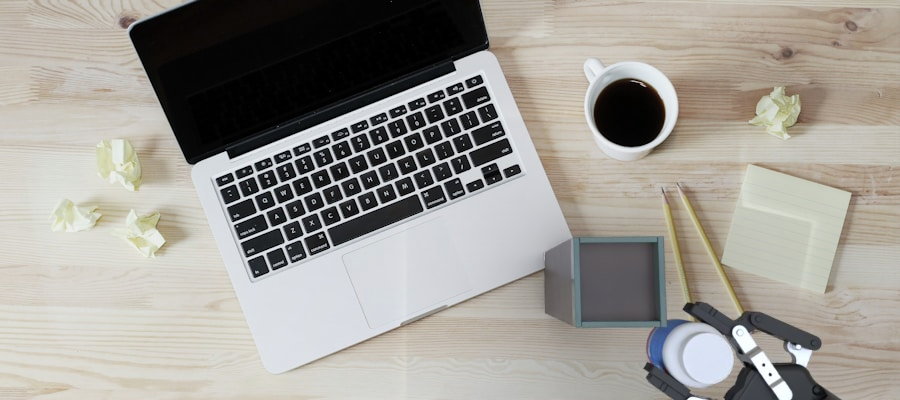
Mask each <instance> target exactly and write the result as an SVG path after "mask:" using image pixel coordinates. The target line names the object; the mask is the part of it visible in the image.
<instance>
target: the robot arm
mask: <svg viewBox="0 0 900 400" xmlns="http://www.w3.org/2000/svg"><path fill="white" fill-rule="evenodd" d="M682 311H684V312H685V313H686V314H688V315H689V316H691V317H692V318H693V319H696V320H697V322H701V323H705V324H708V325H710V326H712V327H714V328H715V329H717V330H718V331H719V332H720V333H721V334H722V335H723V336H724V338H725V339H726V341H727V342H728V344H729V345H730V347H731V348H732V350H734V352H735V355H736V357H737V359H738V360H739V361H740V363H741V365H742V368H741V370H739V373H738V374H737V377H736V380H735V383H734V384H733V385H732V386H731V387H730V388H728V389H727V391H726V392H725V394H724V395H723V397H722V398H723V399H724V400H843V399H842V398H840V397H839V396H837V395H836V394H834V393H833V392H831V391H830V390H828V389H827V388H825V387H824V386H823V385H821V384H819V382H817V381H816V380H815V379H814V378H813V375H812V374H811V372H810V371H809V369H808V365H809V362H810V360H811V358H812V354H813V352H814V351H819V350H820V349H821V348H822V339H821V338H820V337H819V336H817V335H815V334H812V333H811V332H808V331H806V330H803V329H801V328H798V327H796V326H794V325H792V324H790V323H787V322H785V321H782V320H780V319H778V318H776V317H773V316H771V315H768V314H766V313H763V312H761V311H755V310H745V311H743V312H742V313H741V315H739V317H737V318H735V319H732V318H730V317H729V316H727V315H726V314H724V313H723V312H721V311H720V310H718V309H717V308H715V307H714V306H713V305H711V304H710V303H708V302H704V301H695V302H694V303H693V302H692V301H691V302H689V301H688V302H686V303H685V304H684V306H683V308H682ZM755 330H756V331H759V332H762V333H764V334H766V335H768V336H771V337H772V338H775V339H778V340H780V341H782V342H783V343H782V348H783V350H784V351H785V352H786V353H788V354H789V355H790V357H791V362H790V361H789V362H771V360H770V359H769V357H768V356H767V354H766V353H765V351H764V350H763V349H762V348H761V347H760V346H759V345H758V344H757V343H756V341H755V340H754V339H753V337H752V335H751V333H752V332H754V331H755ZM642 369H643V370H644V371H646V372H647V374H646V376H645V379H646V380H647V382H648V383H649V385H652V386H653V387H655V388H656V389H657V390H658V391H660V392H662V393H663V394H664V395H666V396H668V397H669V398H670V399H672V400H720V399H719V398H713V397H709V396H703V395H699V394H693V393H691V390H692V389H690V388H689V387H687V386H684V385H682V384H681V383H679V382H678V381H677V380H675V379H674V378H672V377H671V376H669V375H668V374H666V373H665V372H663V371H662V370H661V369H659V368H658V367H656V366H655V365H653V364H651V363H650V362H649V361H646V363H645V364H644V366H643V367H642Z"/></svg>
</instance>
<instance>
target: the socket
mask: <svg viewBox="0 0 900 400" xmlns="http://www.w3.org/2000/svg"><path fill="white" fill-rule="evenodd" d="M570 239H571V280H572V322H573V326H572V327H573V328H575V329H578V328H579V329H580V328H582V329H584V328H585V329H588V328H590V329H592V328H593V329H597V328H599V329H601V328H608V329H609V328H610V329H611V328H613V329H614V328H621V329H622V328H635V329H637V328H654V327H667V320H668V312H667V311H668V310H667V285H666V283H667V282H666V260H665V237H664V235H659V236H658V235H657V236H656V235H655V236H654V235H651V236H647V235H646V236H645V235H644V236H642V235H641V236H639V235H638V236H636V235H635V236H633V235H632V236H573V237H570ZM580 244H652V248H653V275H654V302H655V320H582V316H581V276H580Z"/></svg>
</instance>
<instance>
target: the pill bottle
mask: <svg viewBox="0 0 900 400" xmlns="http://www.w3.org/2000/svg"><path fill="white" fill-rule="evenodd" d="M645 354H646V358H647V361H648V362H649V363H651V364H653V365H655V366H656V367H658V368H659V369H661V370H662V371H663V372H665V373H666V374H668V375H669V376H671V377H672V378H674V379H675V380H677V381H678V382H679V383H681V384H682V385H684V386H685V387H687V388H691V389H706V388H709V387H712V386H714V385H716V384H718V383H721V382H723V381H724V380H726V379H727V378H728V377H729V376H730V374H731V372H732V371H733V368H734V363H735V357H734V352H733V348H732V346H731V344H730V343H729V341H728V340H727V338H726V337H725V335H722V334H721V333H720V332H719V331H718V330H717V329H715V328H714V327H712V326H710V325H708V324H705V323H701V322H700V321H694V320H693V321H692V320H687V319H681V318H670V319H669V318H668V319H667V327H652V329H651V330H650V332H649V333H648V335H647V338H646V342H645Z"/></svg>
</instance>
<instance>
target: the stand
mask: <svg viewBox="0 0 900 400" xmlns="http://www.w3.org/2000/svg"><path fill="white" fill-rule="evenodd" d="M544 252H545V268H544V267H543V269H544V270H543V277H544V280H543V281H544V285H543V286H544V314H546V315H549V316H550V317H553V318H555V319H557V320H559V321H561V322H563V323H565V324H568V325H569V326H571V327H574V326H573V322H572V280H571V238H569V239H568V240H566V241H563V242H561V243H560V244H558V245H556V246H553V247H552V248H550V249H548V250H546V251H544ZM580 276H581V316H582V320H655V302H654V275H653V248H652V244H580Z"/></svg>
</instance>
